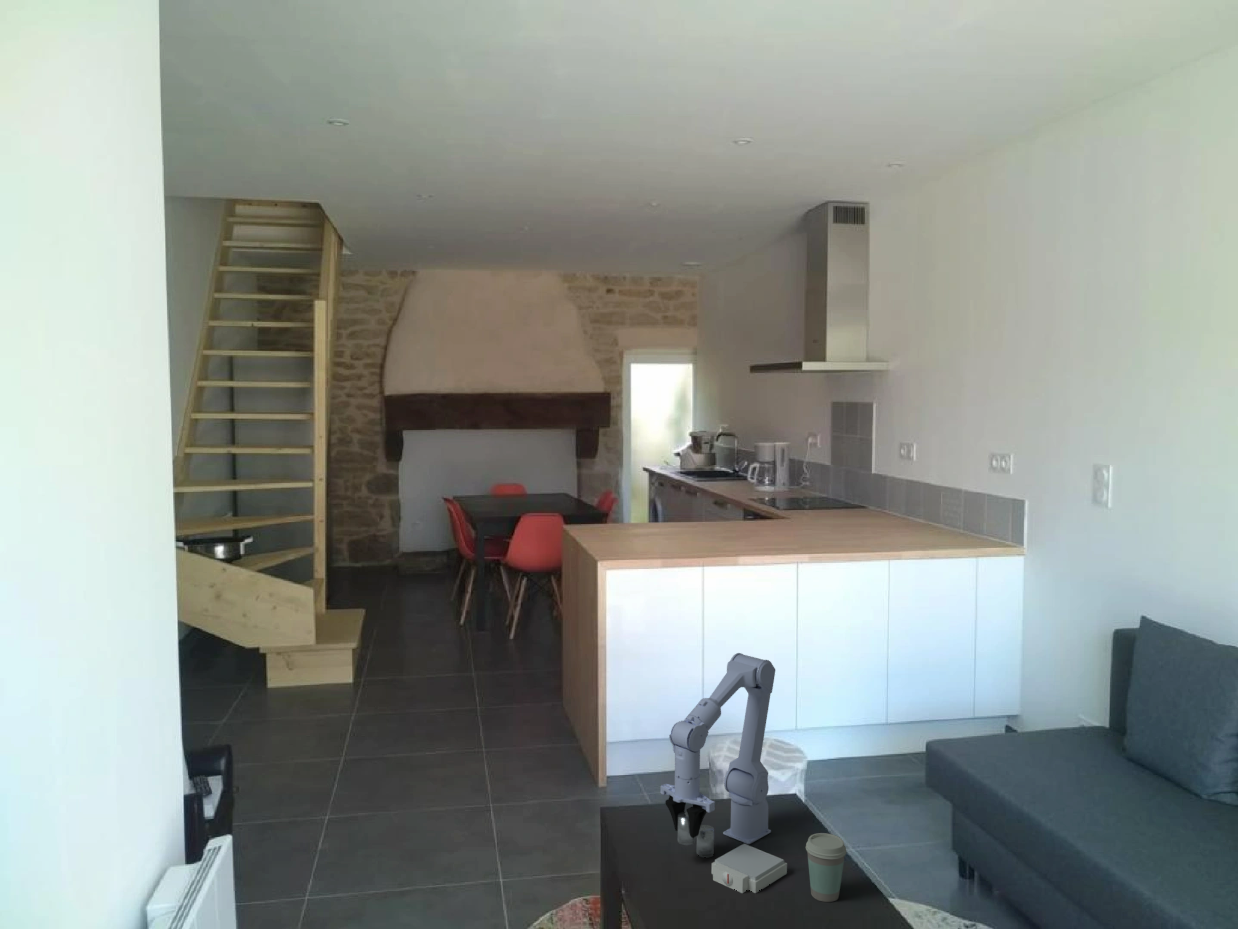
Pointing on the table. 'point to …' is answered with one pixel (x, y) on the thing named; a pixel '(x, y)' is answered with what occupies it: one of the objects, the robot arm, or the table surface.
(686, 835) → the cylinder
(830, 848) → the coffee cup
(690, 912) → the table surface
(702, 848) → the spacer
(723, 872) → the grey flat ridged box
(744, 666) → the robot arm
